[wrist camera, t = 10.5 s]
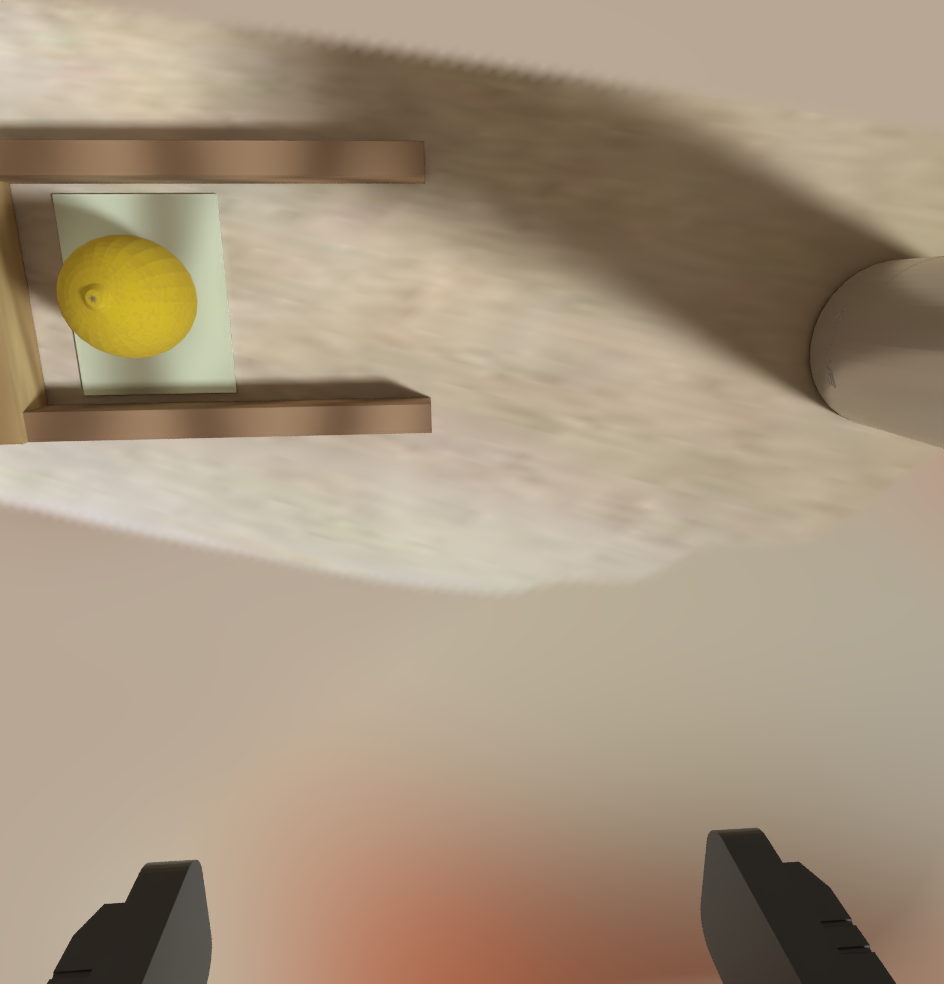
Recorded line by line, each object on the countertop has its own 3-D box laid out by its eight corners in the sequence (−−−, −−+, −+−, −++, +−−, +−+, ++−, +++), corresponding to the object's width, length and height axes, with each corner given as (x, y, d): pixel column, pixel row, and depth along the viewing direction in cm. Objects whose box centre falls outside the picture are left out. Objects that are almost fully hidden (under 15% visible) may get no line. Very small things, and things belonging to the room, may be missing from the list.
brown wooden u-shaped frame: (423, 151, 36) (424, 138, 33) (431, 424, 39) (431, 434, 37) (-29, 150, 34) (-71, 137, 31) (24, 433, 38) (-9, 444, 35)
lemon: (84, 274, 36) (-7, 269, 28) (175, 220, 36) (108, 200, 28) (148, 370, 38) (78, 389, 30) (237, 319, 37) (189, 326, 29)
